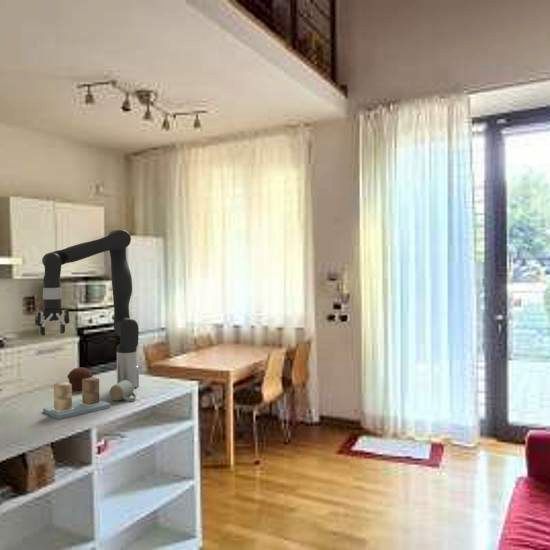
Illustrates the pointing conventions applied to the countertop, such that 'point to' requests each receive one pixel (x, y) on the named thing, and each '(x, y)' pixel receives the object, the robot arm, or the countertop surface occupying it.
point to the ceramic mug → (122, 391)
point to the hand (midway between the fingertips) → (52, 334)
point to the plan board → (76, 409)
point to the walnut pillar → (90, 391)
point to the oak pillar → (62, 396)
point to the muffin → (78, 377)
